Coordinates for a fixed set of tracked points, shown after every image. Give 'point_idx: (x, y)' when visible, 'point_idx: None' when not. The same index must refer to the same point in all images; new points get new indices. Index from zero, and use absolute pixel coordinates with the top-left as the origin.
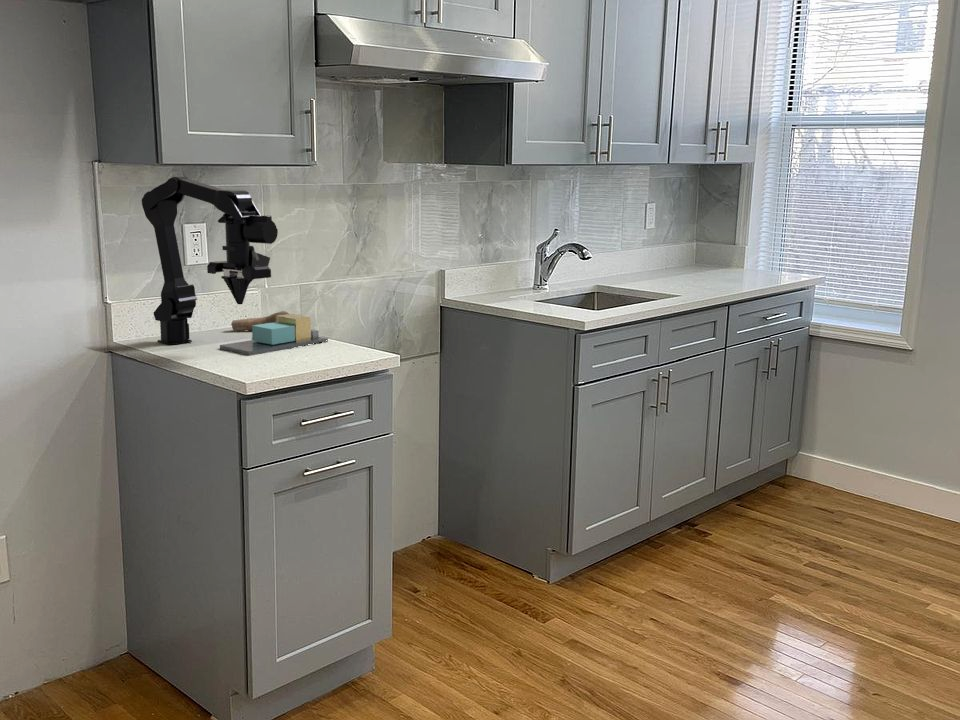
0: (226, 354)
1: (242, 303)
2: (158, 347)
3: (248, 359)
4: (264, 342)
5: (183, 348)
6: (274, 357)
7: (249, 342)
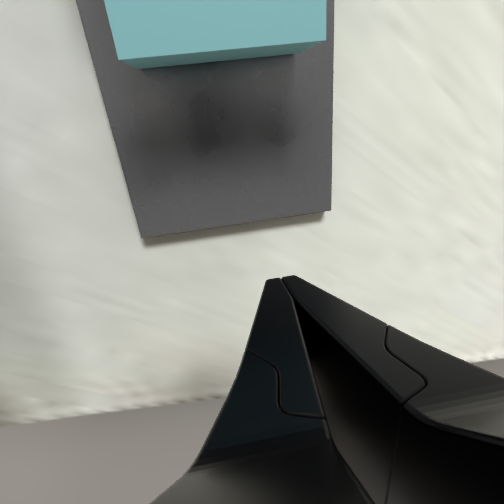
0: (254, 256)
1: (296, 278)
2: (3, 377)
3: (372, 237)
4: (238, 58)
5: (63, 325)
6: (415, 148)
7: (152, 97)
